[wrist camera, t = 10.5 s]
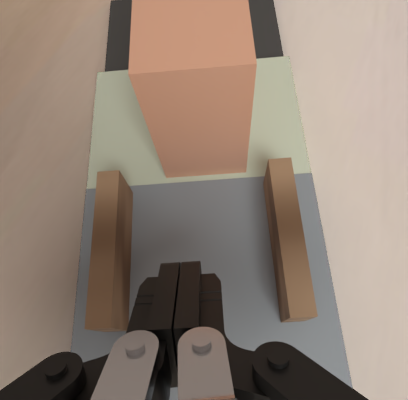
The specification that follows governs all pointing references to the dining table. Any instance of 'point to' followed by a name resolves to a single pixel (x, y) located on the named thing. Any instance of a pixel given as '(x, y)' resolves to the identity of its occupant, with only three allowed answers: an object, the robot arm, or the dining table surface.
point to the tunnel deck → (222, 264)
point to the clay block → (195, 82)
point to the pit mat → (121, 26)
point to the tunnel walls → (122, 236)
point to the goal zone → (144, 147)
